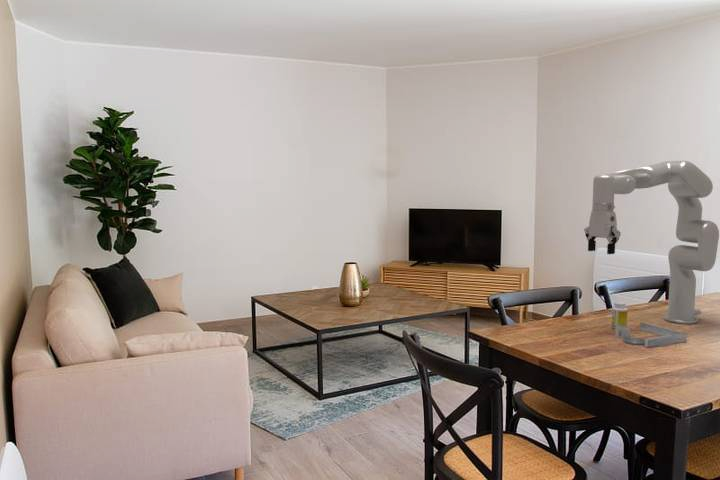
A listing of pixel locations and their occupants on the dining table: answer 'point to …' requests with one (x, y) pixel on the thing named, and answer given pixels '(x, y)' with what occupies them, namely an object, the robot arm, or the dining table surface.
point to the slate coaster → (634, 341)
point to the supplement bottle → (619, 314)
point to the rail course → (666, 334)
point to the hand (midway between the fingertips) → (601, 252)
